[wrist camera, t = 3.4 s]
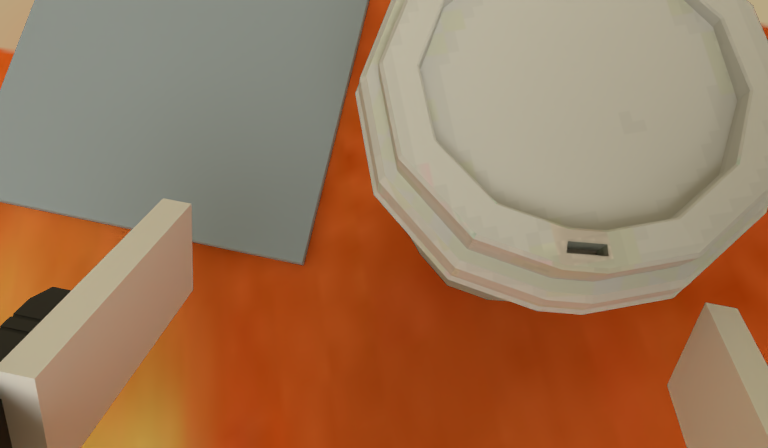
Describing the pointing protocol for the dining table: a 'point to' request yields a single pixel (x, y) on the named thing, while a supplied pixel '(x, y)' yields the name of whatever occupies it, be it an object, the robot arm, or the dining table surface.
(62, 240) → the dining table surface
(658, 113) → the disposable coffee cup
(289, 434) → the dining table surface
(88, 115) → the mat
